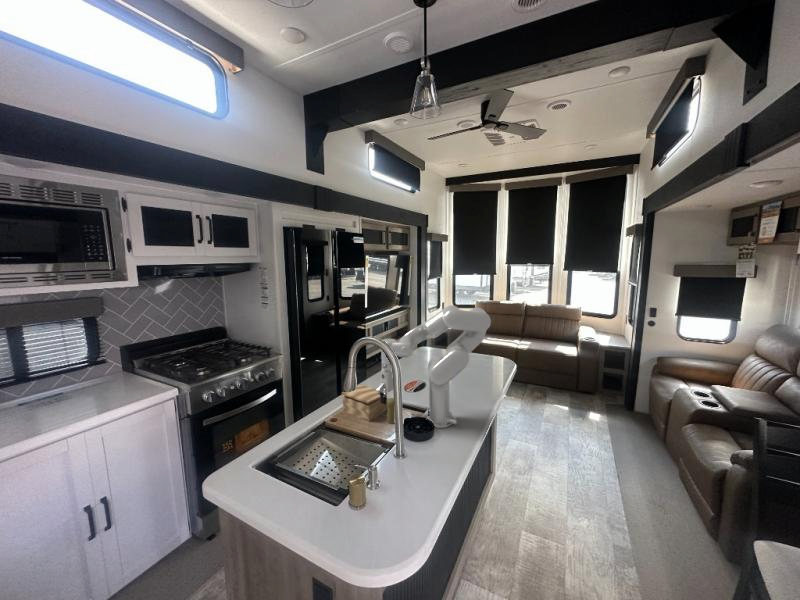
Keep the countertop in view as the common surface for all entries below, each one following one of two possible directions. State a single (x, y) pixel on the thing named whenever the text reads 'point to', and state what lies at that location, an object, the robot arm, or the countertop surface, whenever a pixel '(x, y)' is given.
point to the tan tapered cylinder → (390, 411)
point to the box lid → (363, 394)
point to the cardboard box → (363, 408)
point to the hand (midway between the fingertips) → (390, 399)
